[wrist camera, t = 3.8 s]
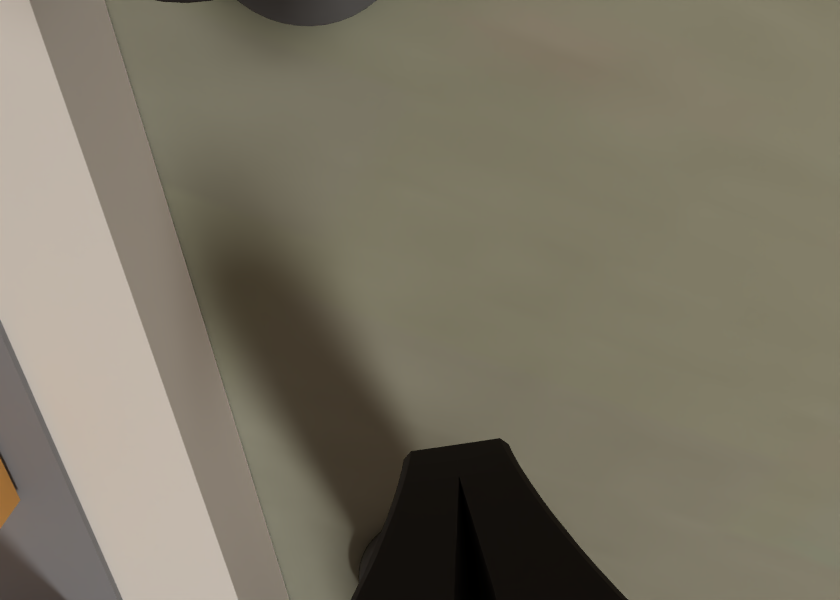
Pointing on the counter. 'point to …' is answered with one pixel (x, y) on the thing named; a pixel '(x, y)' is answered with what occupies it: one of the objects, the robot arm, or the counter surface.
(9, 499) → the orange cuboid brick
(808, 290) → the counter surface
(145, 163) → the long narrow tray
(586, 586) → the robot arm
